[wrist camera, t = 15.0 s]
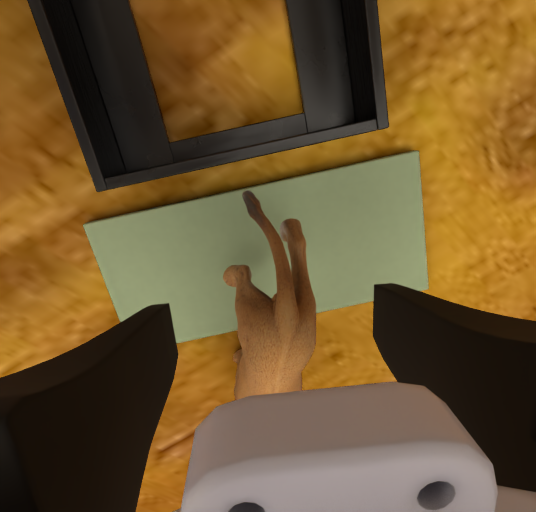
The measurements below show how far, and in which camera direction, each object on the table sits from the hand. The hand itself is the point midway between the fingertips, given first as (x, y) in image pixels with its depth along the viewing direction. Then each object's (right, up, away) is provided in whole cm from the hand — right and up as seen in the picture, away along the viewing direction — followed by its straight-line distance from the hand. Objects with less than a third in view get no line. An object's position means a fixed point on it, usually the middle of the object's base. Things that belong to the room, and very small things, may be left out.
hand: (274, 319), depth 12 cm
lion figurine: (0, -1, +8) cm, 8 cm away
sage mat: (0, +2, +8) cm, 8 cm away
